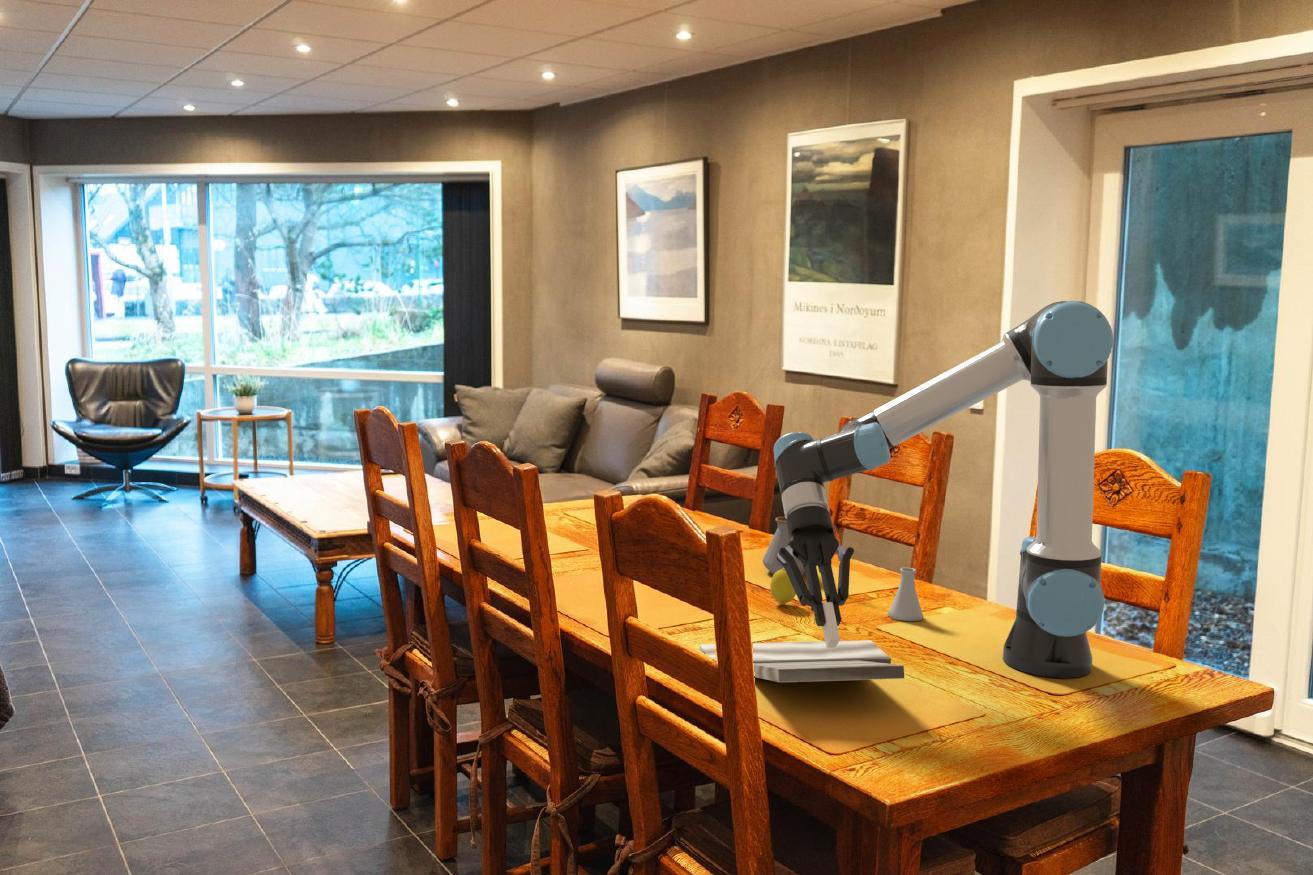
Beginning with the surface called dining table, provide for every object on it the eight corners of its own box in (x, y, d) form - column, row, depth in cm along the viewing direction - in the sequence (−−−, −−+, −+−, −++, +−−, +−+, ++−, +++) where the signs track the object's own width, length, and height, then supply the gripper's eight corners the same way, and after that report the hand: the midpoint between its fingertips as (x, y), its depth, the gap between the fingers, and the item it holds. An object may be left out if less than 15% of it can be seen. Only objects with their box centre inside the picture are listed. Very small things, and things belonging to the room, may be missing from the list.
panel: (747, 675, 188) (747, 663, 188) (859, 672, 191) (859, 660, 191) (779, 682, 168) (779, 668, 169) (904, 678, 172) (903, 665, 172)
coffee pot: (752, 570, 259) (754, 507, 257) (791, 565, 265) (794, 503, 263) (809, 593, 241) (812, 525, 239) (849, 587, 246) (853, 521, 244)
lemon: (797, 609, 228) (799, 571, 227) (770, 608, 228) (772, 570, 227) (794, 601, 233) (796, 564, 232) (768, 600, 233) (770, 564, 232)
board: (699, 655, 198) (699, 644, 197) (870, 650, 203) (870, 640, 203) (711, 674, 188) (711, 663, 188) (890, 669, 193) (891, 658, 193)
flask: (921, 613, 228) (924, 565, 227) (925, 623, 221) (928, 574, 220) (885, 611, 229) (888, 563, 228) (888, 621, 222) (891, 572, 220)
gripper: (838, 527, 190) (866, 653, 176) (765, 527, 188) (787, 655, 174) (850, 503, 184) (880, 631, 170) (774, 503, 182) (798, 633, 168)
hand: (833, 643), depth 172 cm, fingers closed
